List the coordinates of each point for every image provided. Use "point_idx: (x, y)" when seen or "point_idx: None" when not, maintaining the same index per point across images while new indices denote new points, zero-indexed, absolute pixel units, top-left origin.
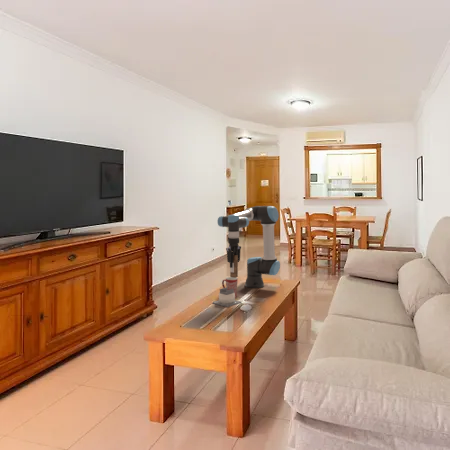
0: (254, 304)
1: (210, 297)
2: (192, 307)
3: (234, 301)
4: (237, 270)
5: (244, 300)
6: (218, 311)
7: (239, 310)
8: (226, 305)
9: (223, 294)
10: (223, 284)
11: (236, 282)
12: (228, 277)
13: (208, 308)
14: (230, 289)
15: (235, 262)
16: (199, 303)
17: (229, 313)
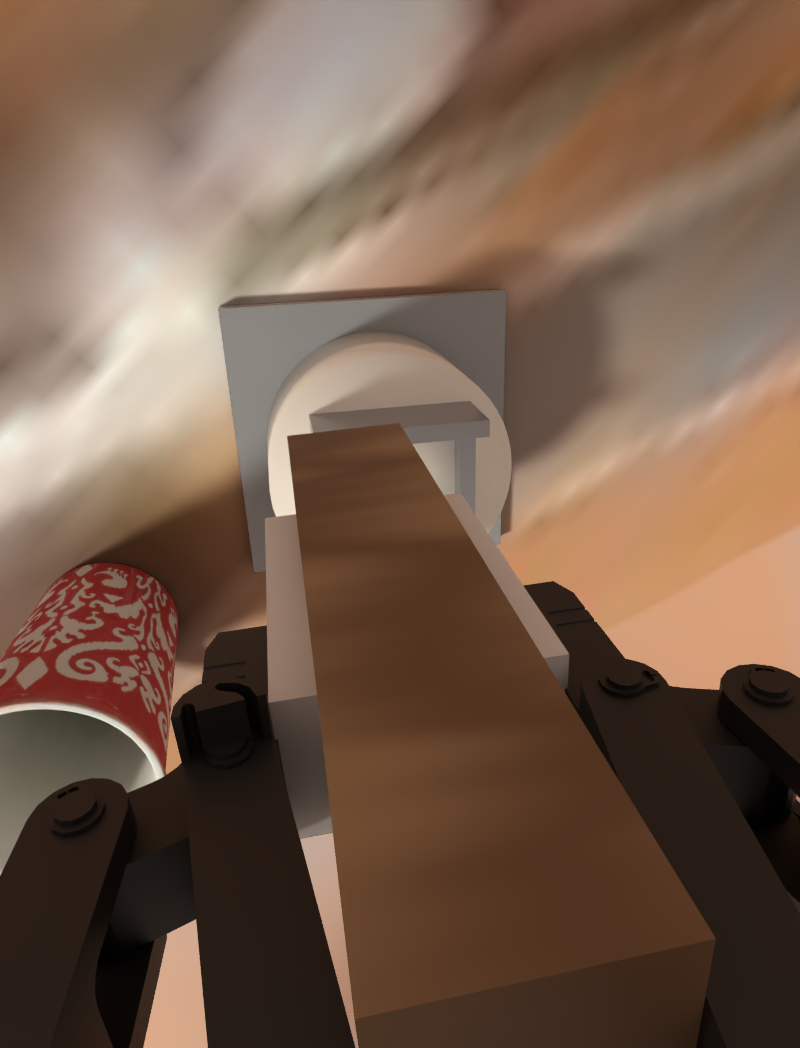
0: (122, 72)
1: None
2: (738, 548)
3: (323, 348)
4: (302, 499)
5: (97, 361)
6: (713, 222)
7: (522, 21)
8: (504, 310)
9: (480, 457)
10: None
11: (22, 674)
12: None
13: (679, 407)
14: None
15: (473, 637)
16: None
17: (710, 31)
